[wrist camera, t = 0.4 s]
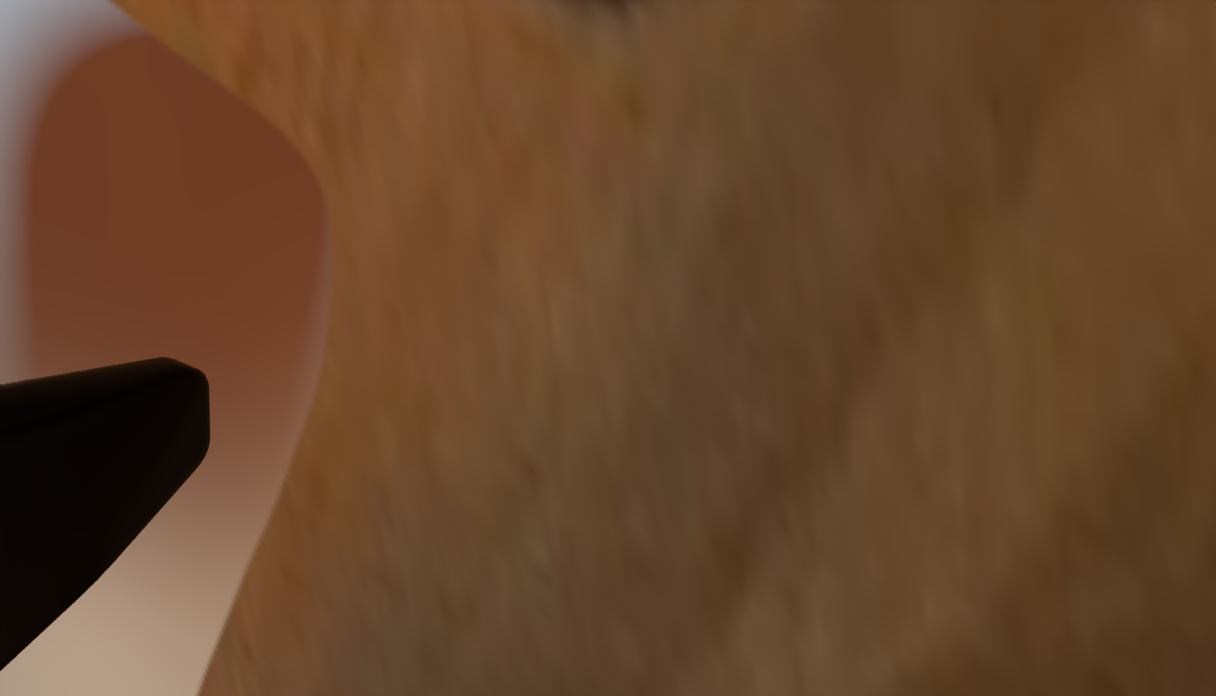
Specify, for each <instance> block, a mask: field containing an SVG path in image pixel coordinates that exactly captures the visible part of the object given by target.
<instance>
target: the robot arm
mask: <svg viewBox="0 0 1216 696" xmlns="http://www.w3.org/2000/svg"><path fill="white" fill-rule="evenodd" d="M209 443H210V410H209V384H208V380H207V378H206V376H205V374H204V373H203V372H201V371H200V370H199V369H197V368H194V367H192V366H190V365H187V364H185V363H182V362H180V361H178V360H176V359H172V358H168V357H159V358H153V359H147V360H142V361H136V362H130V363H124V364H118V365H112V366H106V367H101V368H94V369H88V370H83V371H77V372H71V373H65V374H59V375H54V376H47V377H42V378H36V379H30V380H24V381H19V382H12V383H6V384H0V671H1V670H2V669H3V668H4V667H5V666H6V665H7V664H9V663H10V662H11V661H12V660H13V659H14V658H15V657H16V656H17V655H18V654H19V653H20V652H22V650H24V649H25V648H26V647H27V646H28V645H29V644H30V643H31V642H32V641H33V640H34V639H35V638H37V637H38V636H39V635H40V634H41V633H42V632H43V631H44V630H45V629H46V628H47V627H48V626H49V625H51V624H52V623H53V622H54V621H55V620H56V619H57V618H58V617H59V616H60V615H61V614H62V613H63V612H64V611H66V610H67V609H68V608H69V607H70V606H71V605H72V604H73V603H74V602H75V601H76V600H77V599H78V598H79V597H80V596H81V595H82V594H84V593H85V592H86V591H87V590H88V588H90V587H91V586H92V585H93V584H94V583H95V582H96V581H97V580H98V579H99V578H100V576H101V575H102V574H103V573H104V572H105V571H106V570H107V569H108V568H109V567H110V566H111V565H112V563H114V561H115V560H116V559H117V558H118V557H119V556H120V555H121V554H122V552H123V551H124V550H125V549H126V548H127V547H128V546H129V545H130V543H131V542H132V541H133V540H134V539H135V538H136V537H137V536H138V534H139V533H140V532H141V531H142V530H143V529H144V528H145V526H146V525H147V524H148V523H149V522H150V521H151V519H153V517H154V516H155V515H156V514H157V513H158V512H159V511H160V509H161V508H162V507H163V506H164V505H165V504H166V503H167V502H168V500H169V499H170V498H171V497H172V496H173V495H174V493H176V491H177V490H178V489H179V488H180V487H181V486H182V485H183V483H184V482H185V481H186V480H187V479H188V478H189V477H190V476H191V474H192V473H193V472H194V471H195V470H196V469H197V467H198V466H199V465H200V464H201V462H202V460H203V459H204V457H205V455H206V453H207V451H208V447H209Z"/></svg>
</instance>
